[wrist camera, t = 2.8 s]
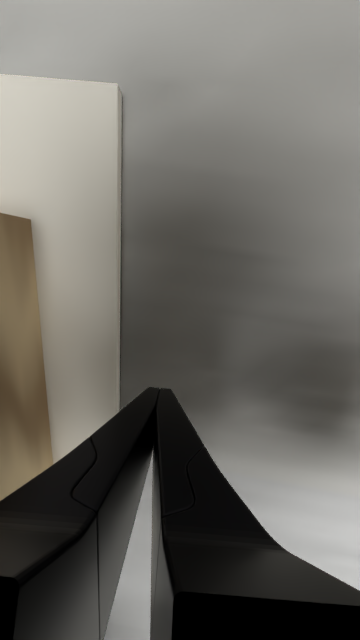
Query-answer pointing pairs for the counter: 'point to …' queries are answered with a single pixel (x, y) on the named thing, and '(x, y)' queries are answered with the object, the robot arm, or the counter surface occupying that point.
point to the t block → (21, 362)
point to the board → (69, 237)
